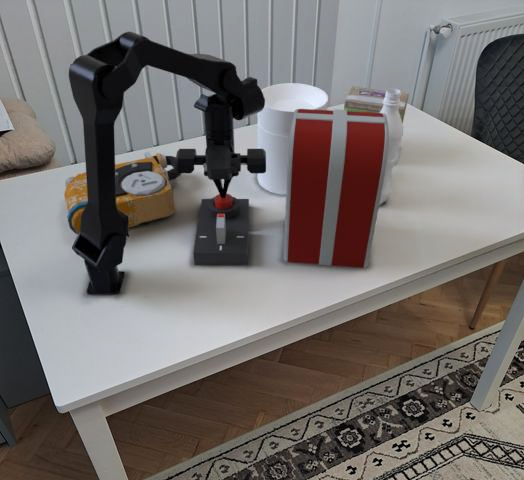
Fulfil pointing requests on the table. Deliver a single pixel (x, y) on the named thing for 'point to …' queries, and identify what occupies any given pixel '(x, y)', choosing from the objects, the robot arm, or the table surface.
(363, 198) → the wrapped gift box
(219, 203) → the power button
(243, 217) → the button block
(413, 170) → the table surface
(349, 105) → the tea box
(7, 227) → the table surface
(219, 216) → the grey rectangular block
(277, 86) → the canister
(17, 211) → the table surface
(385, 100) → the water bottle
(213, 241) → the panel
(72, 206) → the device
